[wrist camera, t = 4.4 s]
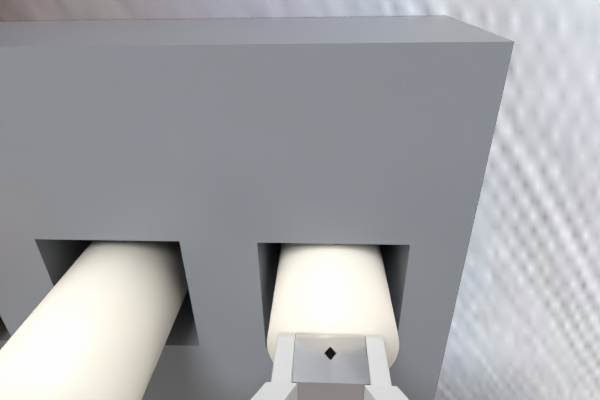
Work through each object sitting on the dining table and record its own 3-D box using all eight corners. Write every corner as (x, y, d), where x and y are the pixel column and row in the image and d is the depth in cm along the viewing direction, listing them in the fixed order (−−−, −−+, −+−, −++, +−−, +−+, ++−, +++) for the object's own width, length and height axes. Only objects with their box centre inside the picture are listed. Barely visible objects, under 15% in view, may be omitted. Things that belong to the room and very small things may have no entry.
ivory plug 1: (191, 210, 15) (100, 375, 9) (204, 290, 17) (137, 472, 11) (89, 209, 15) (-66, 370, 9) (114, 288, 17) (-2, 466, 11)
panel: (446, 15, 15) (514, 41, 9) (399, 335, 22) (423, 447, 17) (-139, 23, 16) (-368, 50, 11) (11, 325, 24) (-78, 427, 18)
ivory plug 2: (376, 180, 17) (406, 298, 11) (370, 254, 19) (392, 391, 13) (284, 179, 17) (263, 295, 11) (287, 253, 19) (270, 387, 13)
